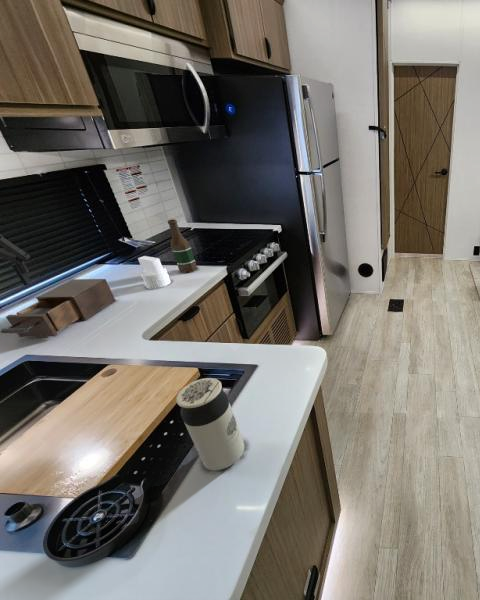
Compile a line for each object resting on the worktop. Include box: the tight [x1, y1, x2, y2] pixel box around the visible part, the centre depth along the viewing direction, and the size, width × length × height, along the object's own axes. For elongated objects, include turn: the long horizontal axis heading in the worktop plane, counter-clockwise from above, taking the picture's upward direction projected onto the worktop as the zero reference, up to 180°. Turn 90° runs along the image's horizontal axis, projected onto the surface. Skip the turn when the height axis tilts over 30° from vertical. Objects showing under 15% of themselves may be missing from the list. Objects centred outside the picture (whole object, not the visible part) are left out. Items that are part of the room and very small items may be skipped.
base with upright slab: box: [137, 255, 172, 290], centre depth 141 cm, size 9×9×12 cm
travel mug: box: [175, 377, 245, 471], centre depth 66 cm, size 8×8×18 cm
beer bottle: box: [167, 219, 198, 274], centre depth 151 cm, size 8×8×24 cm
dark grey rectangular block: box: [26, 308, 54, 327], centre depth 111 cm, size 4×7×5 cm, turn 91°
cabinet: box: [35, 278, 117, 321], centre depth 122 cm, size 15×13×10 cm
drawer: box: [0, 299, 82, 338], centre depth 109 cm, size 18×11×8 cm, turn 1°
